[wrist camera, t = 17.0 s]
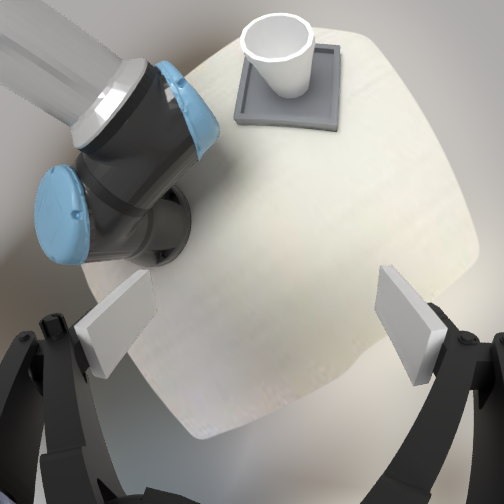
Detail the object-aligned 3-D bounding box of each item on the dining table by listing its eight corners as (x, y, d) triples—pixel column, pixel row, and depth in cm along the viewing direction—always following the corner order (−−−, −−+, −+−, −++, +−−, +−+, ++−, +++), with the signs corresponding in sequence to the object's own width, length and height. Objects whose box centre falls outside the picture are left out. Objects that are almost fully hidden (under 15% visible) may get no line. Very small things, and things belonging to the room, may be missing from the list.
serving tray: (237, 124, 44) (233, 118, 42) (251, 50, 43) (247, 43, 40) (336, 131, 40) (337, 125, 38) (340, 53, 39) (340, 45, 37)
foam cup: (251, 82, 42) (226, 38, 30) (292, 53, 40) (279, 4, 27) (287, 117, 41) (271, 74, 28) (330, 85, 39) (329, 37, 26)
